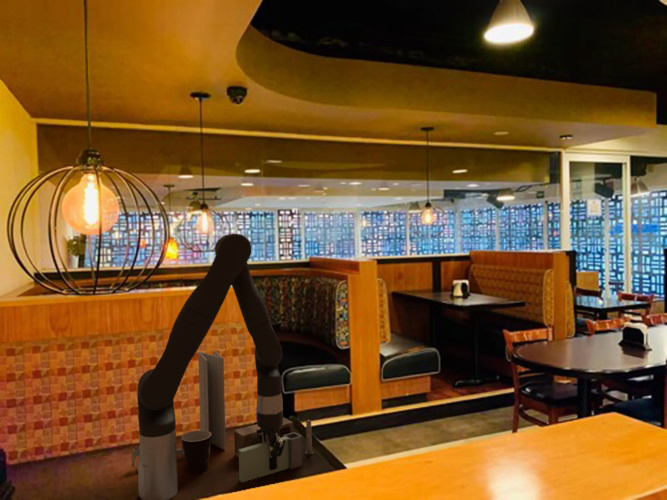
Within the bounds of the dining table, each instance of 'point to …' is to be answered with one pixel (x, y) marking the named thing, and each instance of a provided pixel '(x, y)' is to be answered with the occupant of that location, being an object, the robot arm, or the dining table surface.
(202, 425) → the brochure
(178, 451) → the caliper
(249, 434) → the cabinet
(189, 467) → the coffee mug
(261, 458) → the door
